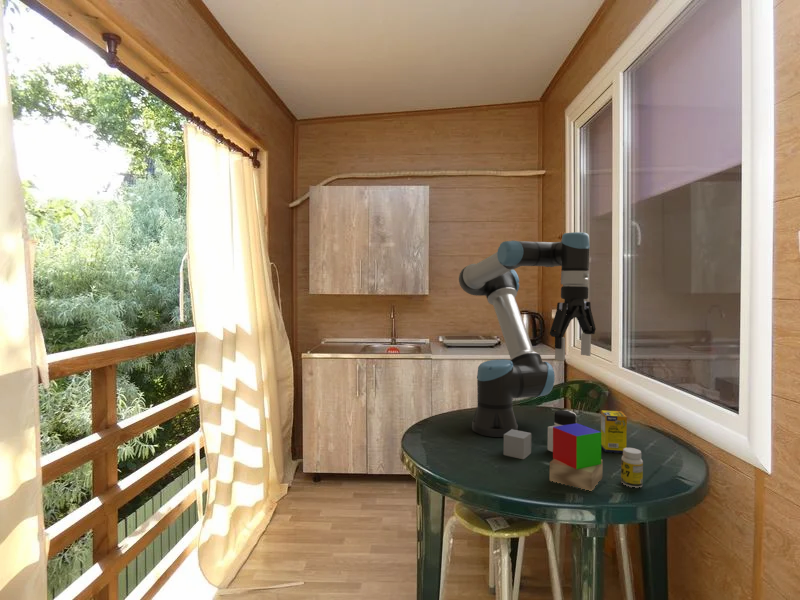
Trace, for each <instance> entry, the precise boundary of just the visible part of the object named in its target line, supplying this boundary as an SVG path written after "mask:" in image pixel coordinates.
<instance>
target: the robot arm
mask: <svg viewBox="0 0 800 600" xmlns="http://www.w3.org/2000/svg"><path fill="white" fill-rule="evenodd" d="M590 248H591V245H590V235H589V234H588V233H587V232H581V231H580V232H579V231H578V232H576V231H575V232H571V231H570V232H565V233H563V234H562V237H561V240H560V241H551V242H550V241H548V242H547V241H524V240H522V241H521V240H507V241H506V240H505V241H502V242H500V245H499V246H498V248H497V251H496V252H495V253H493V254H491V255H490V256H488V257H486V258H484V259H483V260H481V261H479V262H477V263H471V264H468V265H467V266H465V267H464V268H462V270H461V271H460V273H459V275H458V283H459V287H460V288H461V289H462V290H463V292H465V293H467V294H469V295H470V296H478V297H480V296H484V297H486V300H487V302H488V304H490V305H493V308H494V309H493V310H494V312H495V314H496V318H497V321H498V324H499V327H500V330H501V333H502V336H503V340H504V343H505V345H506V348H507V351H508V355H509V358H510V359H505V358H504V359H503V358H502V359H490V360H485V361H484V362H482V363H480V364H479V365H478V367H477V375H476V379H477V382H476V384H477V385H476V387H477V388H476V389H477V396H476V397H477V398H476V399H477V403H476V405H477V406H476V410H475V413H474V415H473V416H474V417H473V419H472V422H471V430H472V431H473V432H474V433H476V434H478V435H480V436H485V437H492V438H504V434H505V433H507V432H508V431H510V430H511V429H513V430H518V429H519V428H518V427H519V425H518V422H517V420H516V416H515V413H514V409H513V399H522V398H525V399H526V398H539V397H543V396H547V395H550V394H551V391H552V390H553V389H554V388H553V387H554V384H555V379H556V378H555V371H554V368H553V366H552V364H551V363H550V362H548V361H543V358H542V356H541V353H538V352H536V351H535V350H534V347H533V345H532V342H531V339H530V336H529V333H528V331H527V328H526V326H525V323H524V319H523V317H522V315H521V312H520V311H521V310H520V308H519V305H518V303H517V300H516V297H517V295H518V291H519V288H520V283H519V282H520V278H519V275H518V273H517V271H516V269H518V268H520V267H545V268H549V267H550V268H554V267H561V269H560V270H561V272H560V273H561V275H560V276H561V277H560V284H561V285H562V286H561V287H560V298H561V299H563V300H564V302H557V304H556V311H555V313H554V318H553V321H552V324H551V327H550V330H549V335H550V336H551V337H553V338H554V360H556V361H566V337H564V335H565V334H566V331H568V330H567V329H568V327H569V325H570V324H571V322H572V320H574V319H575V318H576V320H577V322H578V324H579V327H580V328H581V331H582V333H581V334H580V341H581V342H580V355H581V356H588V357H591V354H592V353H591V351H592V350H591V348H592V347H591V346H592V335H595V333H596V331H597V328H596V324H595V321H594V317H593V312H592V309H591V308H592V307H591V301H585V300H587V299H589V287H588V286H587V285H588V284H589V277H590V273H589V271H590V270H589V269H590ZM518 431H519V430H518Z"/></svg>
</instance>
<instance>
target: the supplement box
mask: <svg viewBox="0 0 800 600" xmlns="http://www.w3.org/2000/svg"><path fill="white" fill-rule="evenodd" d="M627 424H628V416H627V415H625V413H624V412H623V411H621V410H620V411H618V410H601V411H600V432H601V449H602V450H603V451H604V452H605V453H612V452H614V453H615V454H623V449H624V448H628V447H627V443H628V441H627V439H628V437H627V435H628V434H627V431H628V426H627Z"/></svg>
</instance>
